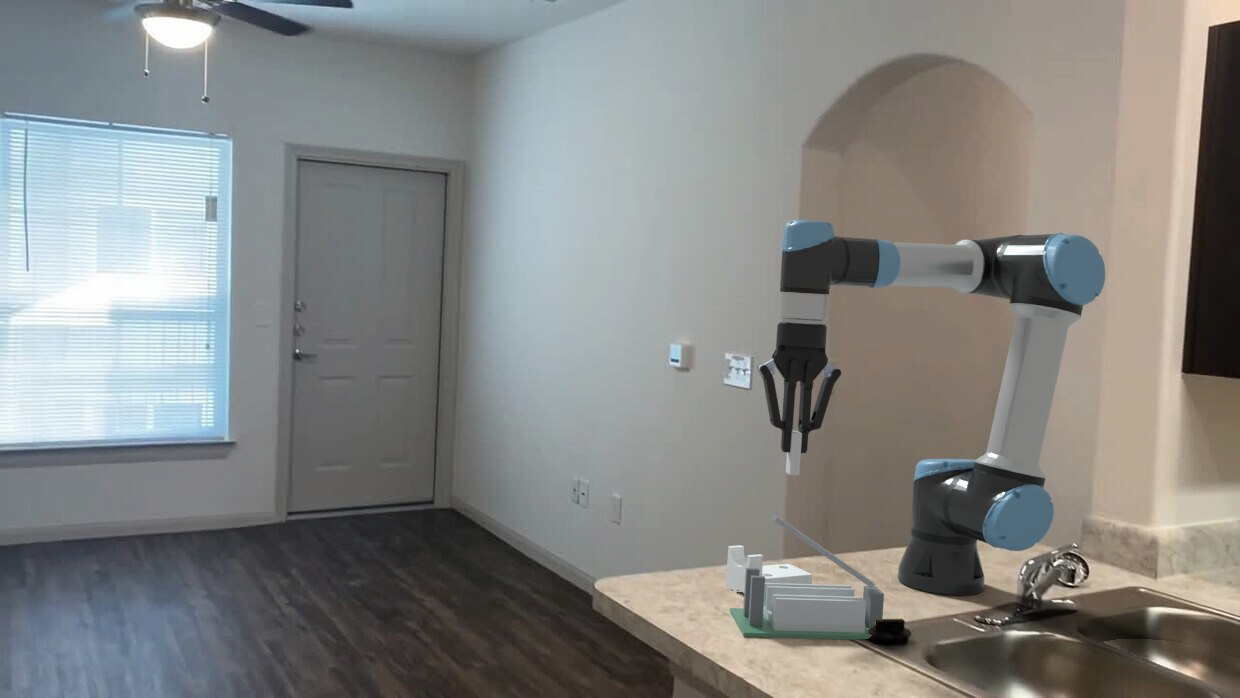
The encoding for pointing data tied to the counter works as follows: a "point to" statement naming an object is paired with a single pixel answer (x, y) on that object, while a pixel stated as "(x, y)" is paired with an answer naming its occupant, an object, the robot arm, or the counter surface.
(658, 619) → the counter surface
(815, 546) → the strap
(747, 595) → the heatsink board
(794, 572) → the bracket
